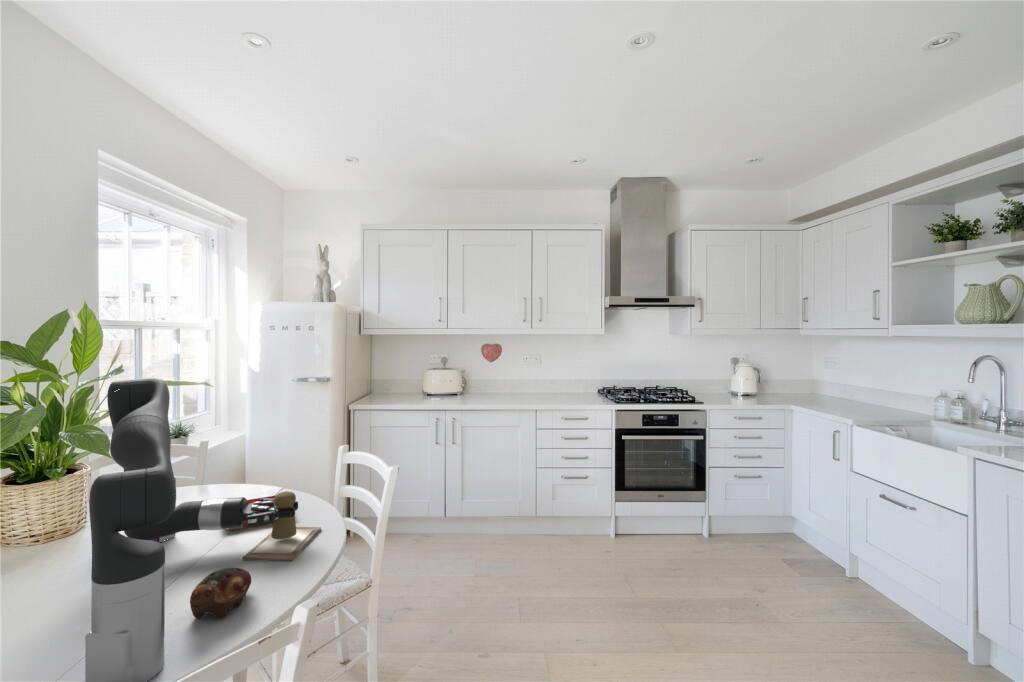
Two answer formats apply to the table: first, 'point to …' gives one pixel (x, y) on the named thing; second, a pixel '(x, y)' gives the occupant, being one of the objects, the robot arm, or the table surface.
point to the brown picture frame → (282, 545)
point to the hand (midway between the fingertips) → (296, 508)
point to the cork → (284, 525)
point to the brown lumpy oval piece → (220, 592)
